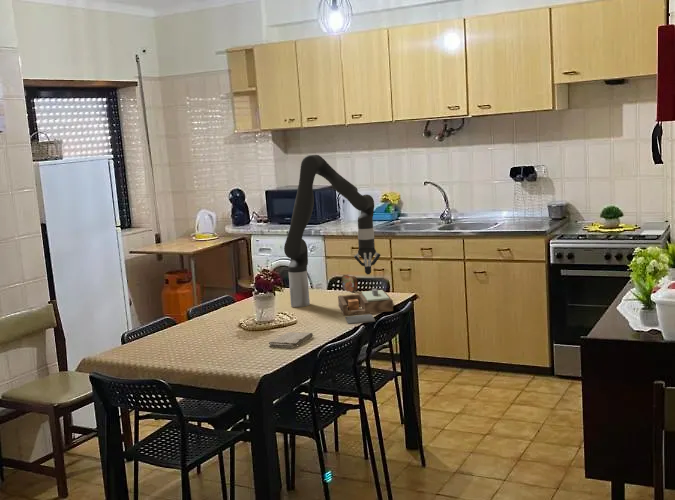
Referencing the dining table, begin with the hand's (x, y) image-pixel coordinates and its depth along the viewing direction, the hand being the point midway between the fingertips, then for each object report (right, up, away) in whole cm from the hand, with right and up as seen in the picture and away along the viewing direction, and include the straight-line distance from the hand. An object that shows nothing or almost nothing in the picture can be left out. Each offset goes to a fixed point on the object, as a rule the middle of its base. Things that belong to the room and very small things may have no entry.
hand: (368, 274), depth 361 cm
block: (-7, -17, +2) cm, 18 cm away
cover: (+3, -11, +2) cm, 11 cm away
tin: (-8, -10, +45) cm, 47 cm away
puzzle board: (-1, -16, +2) cm, 16 cm away
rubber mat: (-4, -20, -19) cm, 28 cm away
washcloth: (-33, -27, -47) cm, 64 cm away
